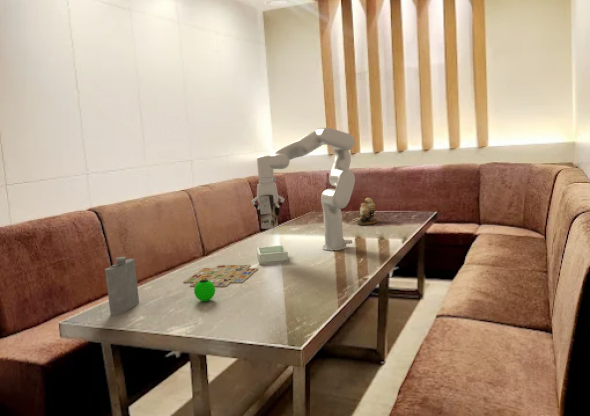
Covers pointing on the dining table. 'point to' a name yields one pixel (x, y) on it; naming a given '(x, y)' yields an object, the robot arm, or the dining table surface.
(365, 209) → the owl figurine
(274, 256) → the bin
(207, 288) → the ornament
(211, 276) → the alphabet tiles
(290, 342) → the dining table surface
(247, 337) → the dining table surface
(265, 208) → the coffee box
